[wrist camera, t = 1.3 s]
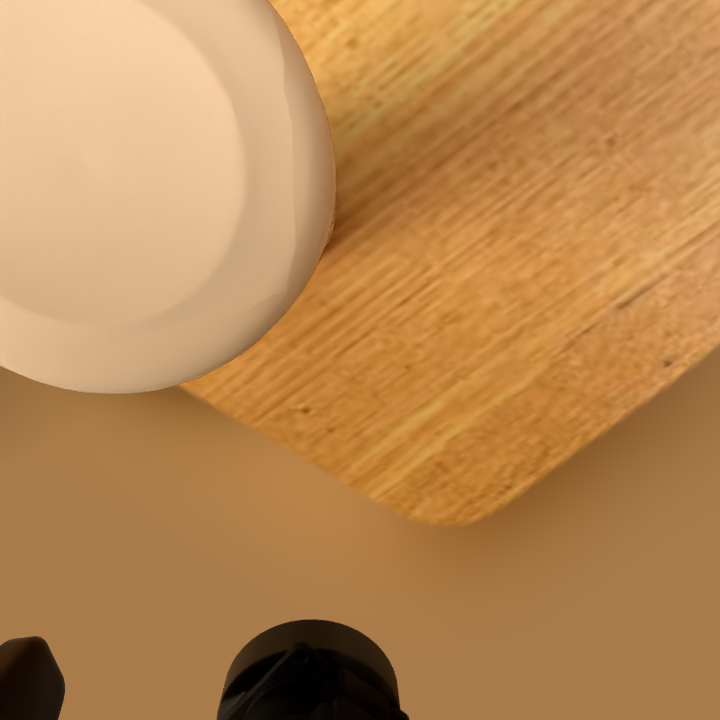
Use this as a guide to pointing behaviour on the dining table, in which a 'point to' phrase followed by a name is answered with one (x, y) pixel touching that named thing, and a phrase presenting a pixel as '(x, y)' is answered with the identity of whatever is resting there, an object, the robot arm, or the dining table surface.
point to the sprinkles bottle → (153, 187)
